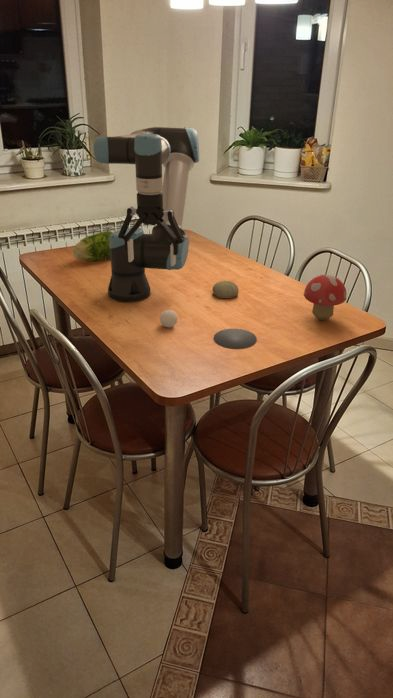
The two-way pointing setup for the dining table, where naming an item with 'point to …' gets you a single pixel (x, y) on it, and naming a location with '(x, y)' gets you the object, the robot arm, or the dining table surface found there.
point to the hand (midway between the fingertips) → (152, 262)
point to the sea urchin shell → (225, 289)
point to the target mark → (235, 338)
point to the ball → (168, 318)
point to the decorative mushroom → (325, 295)
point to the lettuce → (93, 247)
